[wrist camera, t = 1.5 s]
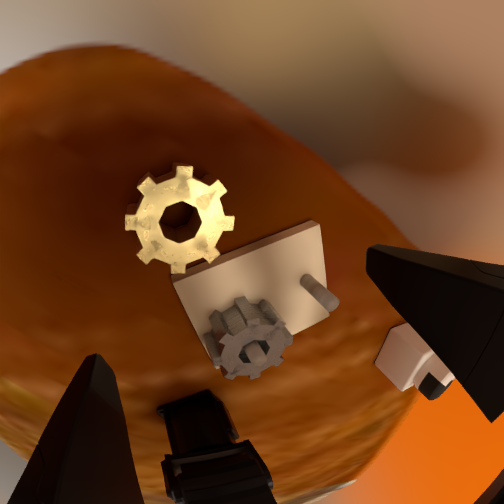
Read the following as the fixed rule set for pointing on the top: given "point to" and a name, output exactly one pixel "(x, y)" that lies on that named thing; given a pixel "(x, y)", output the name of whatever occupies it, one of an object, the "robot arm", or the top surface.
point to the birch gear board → (262, 283)
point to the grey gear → (246, 337)
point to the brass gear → (188, 235)
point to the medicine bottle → (413, 363)
